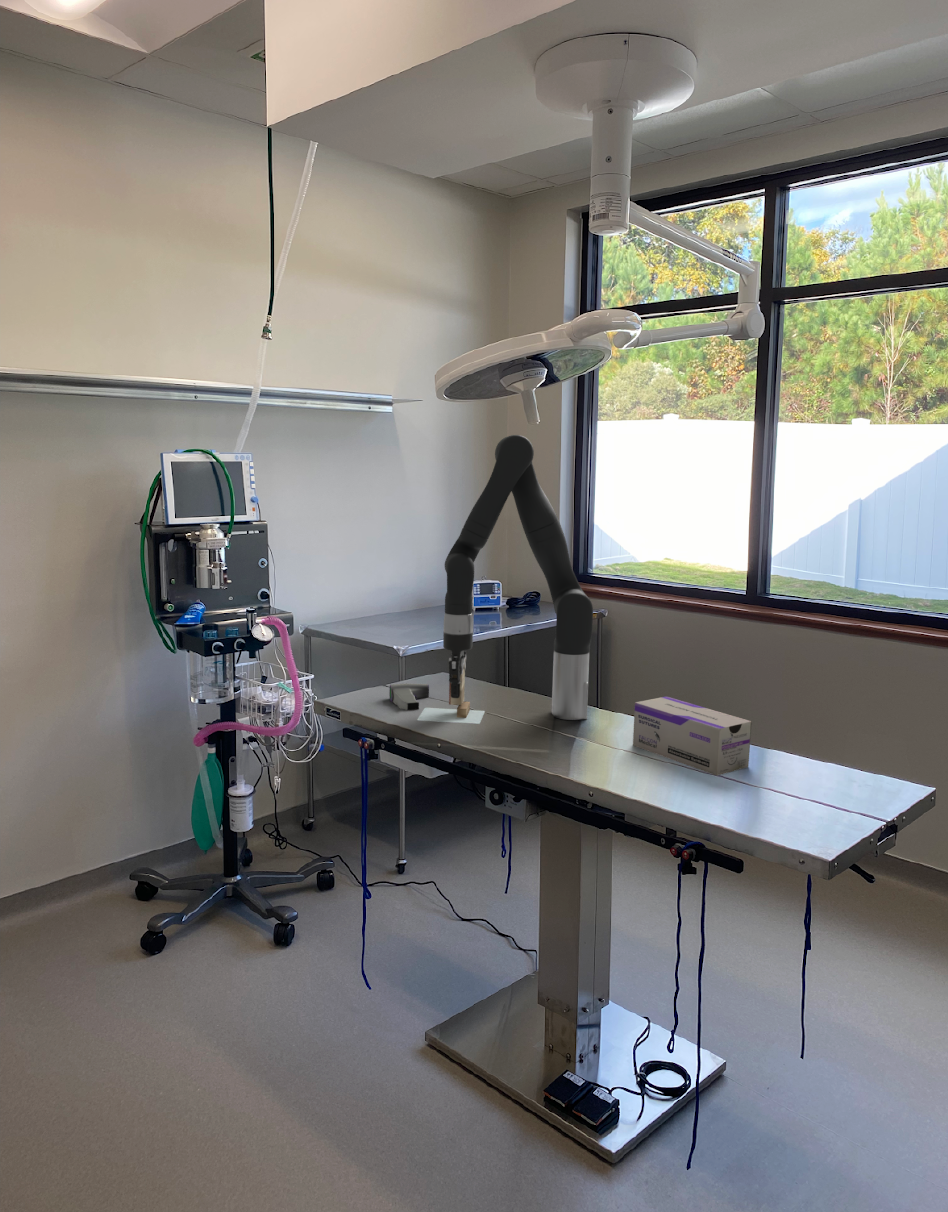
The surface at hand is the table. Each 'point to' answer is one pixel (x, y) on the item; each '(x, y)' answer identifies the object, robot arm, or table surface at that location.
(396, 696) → the infrared thermometer
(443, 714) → the silicone mat
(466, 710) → the rail
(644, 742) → the surgical sutures box
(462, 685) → the wooden block
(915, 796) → the table surface
